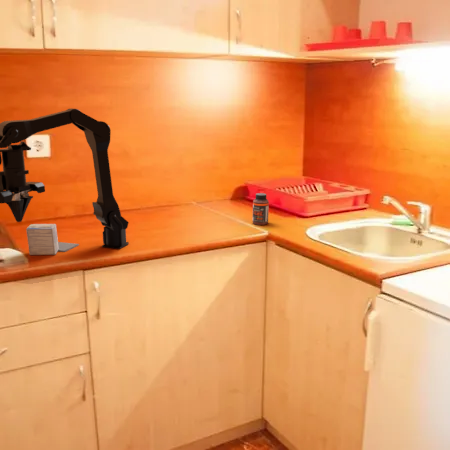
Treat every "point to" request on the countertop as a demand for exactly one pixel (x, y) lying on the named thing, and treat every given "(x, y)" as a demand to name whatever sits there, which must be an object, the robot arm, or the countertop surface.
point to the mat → (66, 246)
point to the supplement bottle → (260, 209)
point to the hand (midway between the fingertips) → (19, 221)
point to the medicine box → (42, 239)
